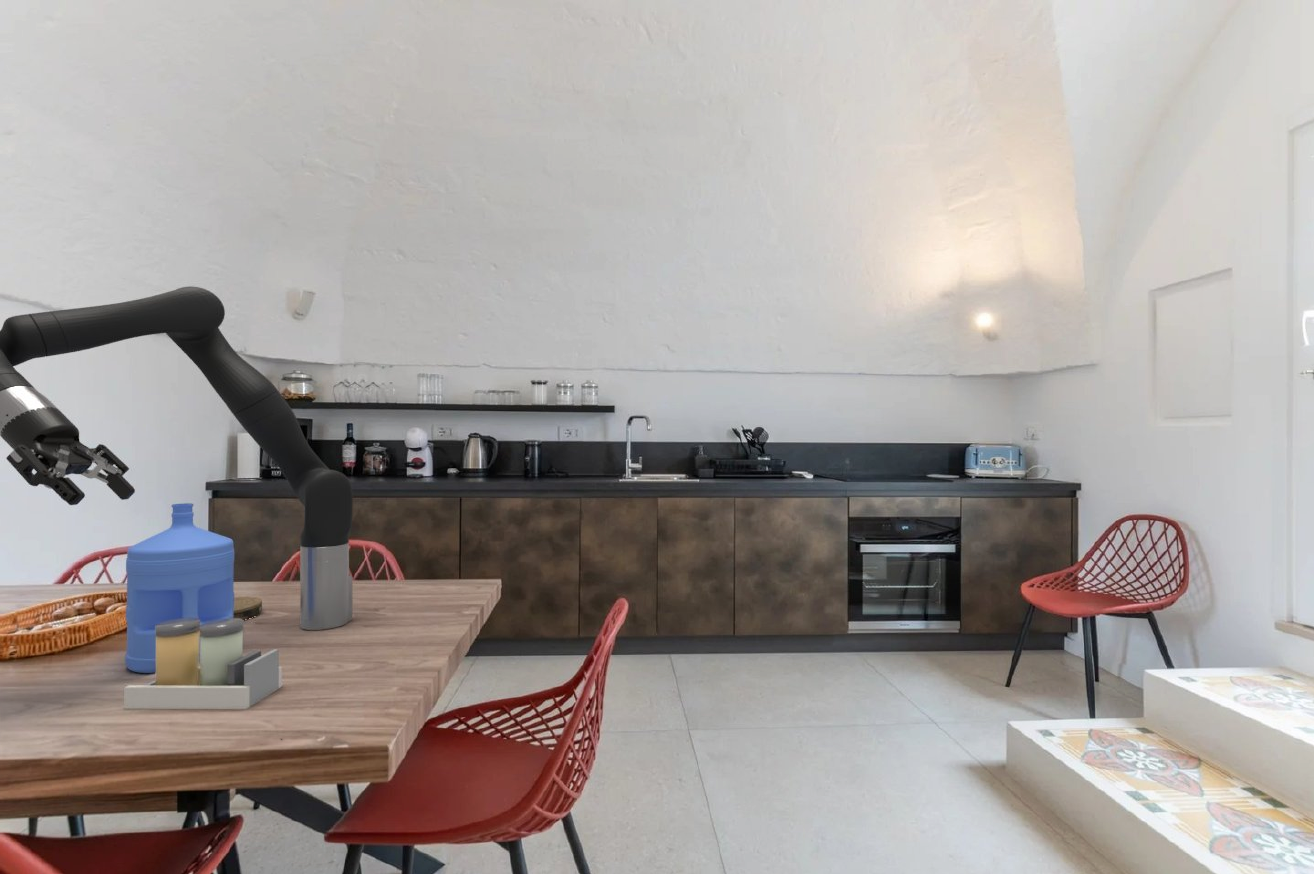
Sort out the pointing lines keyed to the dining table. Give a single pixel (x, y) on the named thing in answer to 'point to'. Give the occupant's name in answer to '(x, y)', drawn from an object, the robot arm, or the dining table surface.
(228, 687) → the jar lane
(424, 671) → the dining table surface
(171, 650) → the honey jar
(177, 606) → the water jug
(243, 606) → the brown round flat disc
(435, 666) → the dining table surface
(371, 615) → the dining table surface
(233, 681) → the block
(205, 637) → the sage jar
